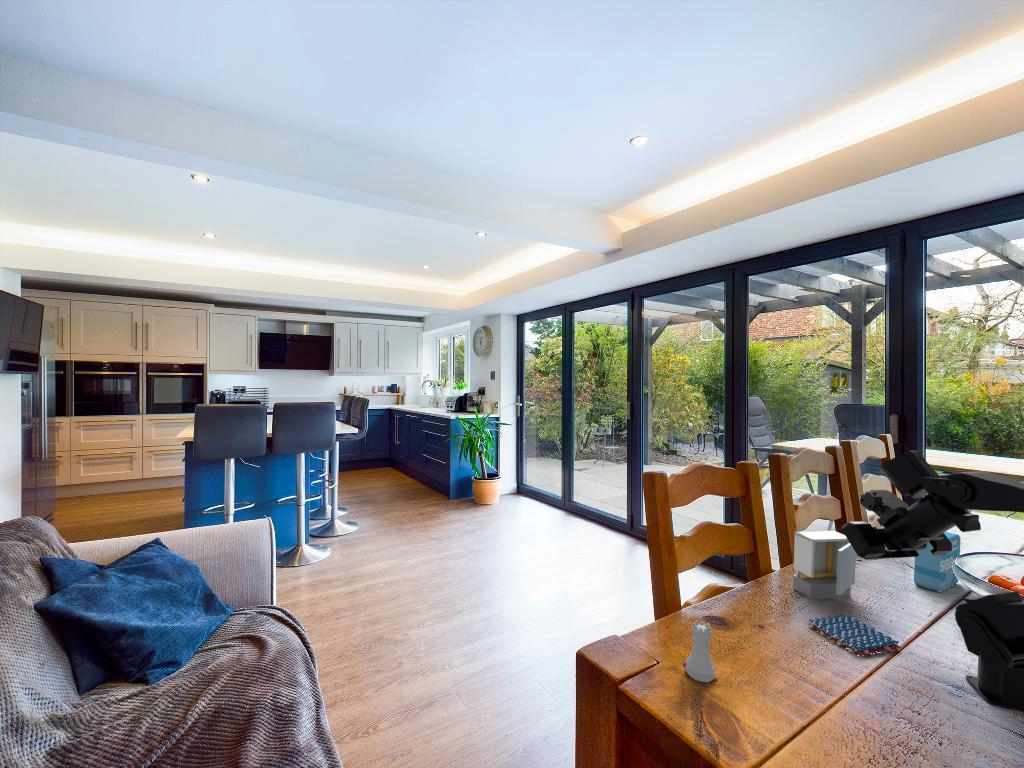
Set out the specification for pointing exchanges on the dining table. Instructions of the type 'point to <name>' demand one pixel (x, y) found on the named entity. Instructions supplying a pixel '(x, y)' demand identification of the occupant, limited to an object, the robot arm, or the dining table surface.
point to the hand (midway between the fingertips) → (866, 557)
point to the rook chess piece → (700, 654)
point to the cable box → (817, 563)
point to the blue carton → (936, 566)
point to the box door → (845, 568)
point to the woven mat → (854, 635)
